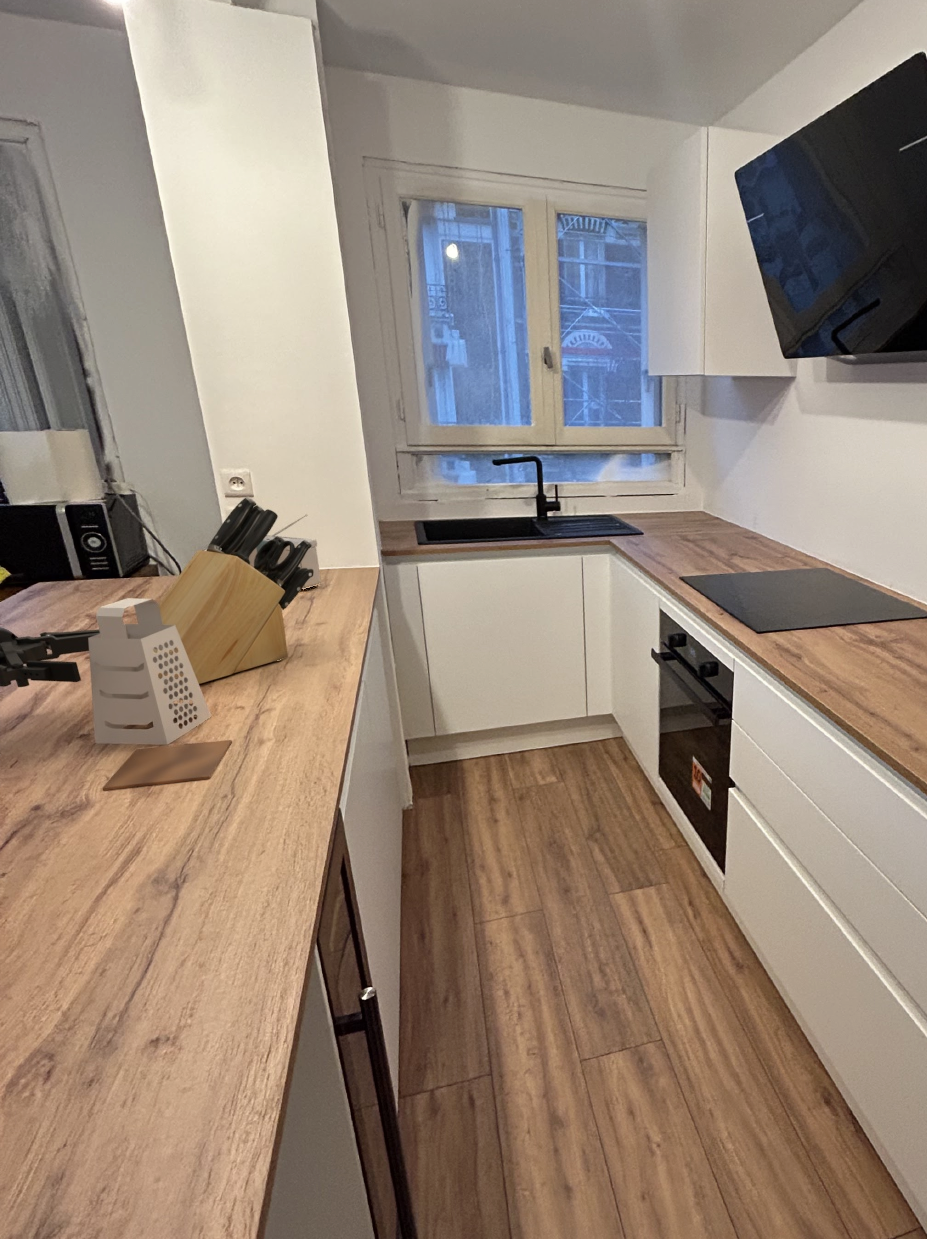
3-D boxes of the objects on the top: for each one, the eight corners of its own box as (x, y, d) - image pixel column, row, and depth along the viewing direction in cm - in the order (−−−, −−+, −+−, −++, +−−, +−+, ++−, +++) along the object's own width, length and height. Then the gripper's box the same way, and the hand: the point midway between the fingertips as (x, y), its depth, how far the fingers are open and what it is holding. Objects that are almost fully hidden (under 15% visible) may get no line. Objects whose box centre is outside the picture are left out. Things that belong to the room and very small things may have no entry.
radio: (243, 585, 201) (230, 512, 195) (268, 579, 209) (256, 509, 202) (302, 592, 195) (291, 517, 188) (326, 586, 203) (316, 514, 196)
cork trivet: (102, 790, 94) (102, 787, 94) (136, 751, 104) (136, 748, 104) (209, 778, 97) (209, 776, 97) (232, 742, 108) (231, 739, 108)
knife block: (331, 646, 152) (309, 496, 142) (153, 701, 122) (108, 515, 111) (294, 639, 156) (270, 492, 146) (113, 690, 126) (67, 509, 116)
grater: (211, 716, 117) (186, 595, 110) (167, 744, 107) (137, 613, 100) (145, 715, 116) (116, 593, 110) (95, 743, 106) (60, 611, 100)
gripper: (54, 650, 120) (179, 654, 120) (-108, 706, 97) (47, 712, 96) (42, 606, 118) (170, 610, 117) (-128, 653, 94) (32, 659, 94)
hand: (115, 656), depth 107 cm, fingers open, 13 cm apart
